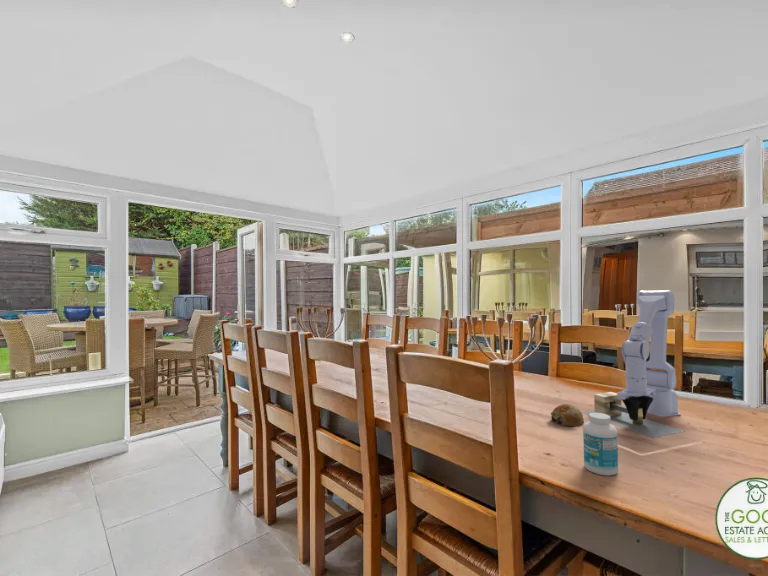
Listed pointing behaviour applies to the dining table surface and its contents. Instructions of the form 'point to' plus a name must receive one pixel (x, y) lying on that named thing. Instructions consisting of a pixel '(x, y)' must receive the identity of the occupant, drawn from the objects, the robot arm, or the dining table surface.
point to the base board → (641, 425)
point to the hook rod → (624, 409)
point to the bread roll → (567, 415)
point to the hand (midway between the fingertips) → (637, 419)
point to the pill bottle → (600, 445)
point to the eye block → (606, 403)
